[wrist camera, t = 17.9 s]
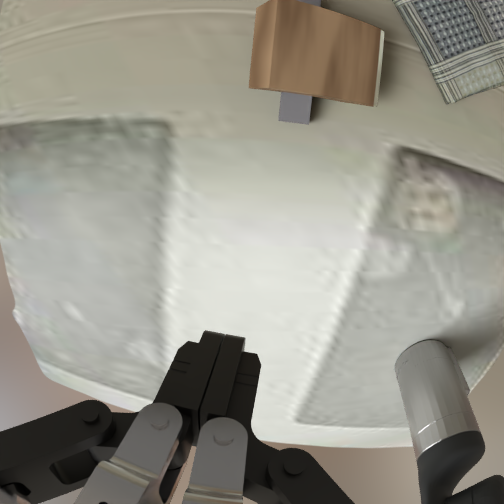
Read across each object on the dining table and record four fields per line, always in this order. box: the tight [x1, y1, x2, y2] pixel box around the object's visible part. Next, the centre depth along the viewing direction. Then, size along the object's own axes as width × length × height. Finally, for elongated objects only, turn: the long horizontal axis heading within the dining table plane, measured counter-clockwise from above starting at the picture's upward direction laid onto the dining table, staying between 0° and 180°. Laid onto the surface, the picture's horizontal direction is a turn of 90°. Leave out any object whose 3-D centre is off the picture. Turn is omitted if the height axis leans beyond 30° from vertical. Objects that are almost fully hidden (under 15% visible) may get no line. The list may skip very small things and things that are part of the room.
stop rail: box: [278, 0, 321, 125], centre depth 27 cm, size 3×14×2 cm, turn 175°
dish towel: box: [392, 0, 504, 104], centre depth 21 cm, size 19×18×3 cm
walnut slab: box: [249, 0, 384, 107], centre depth 24 cm, size 4×8×11 cm
